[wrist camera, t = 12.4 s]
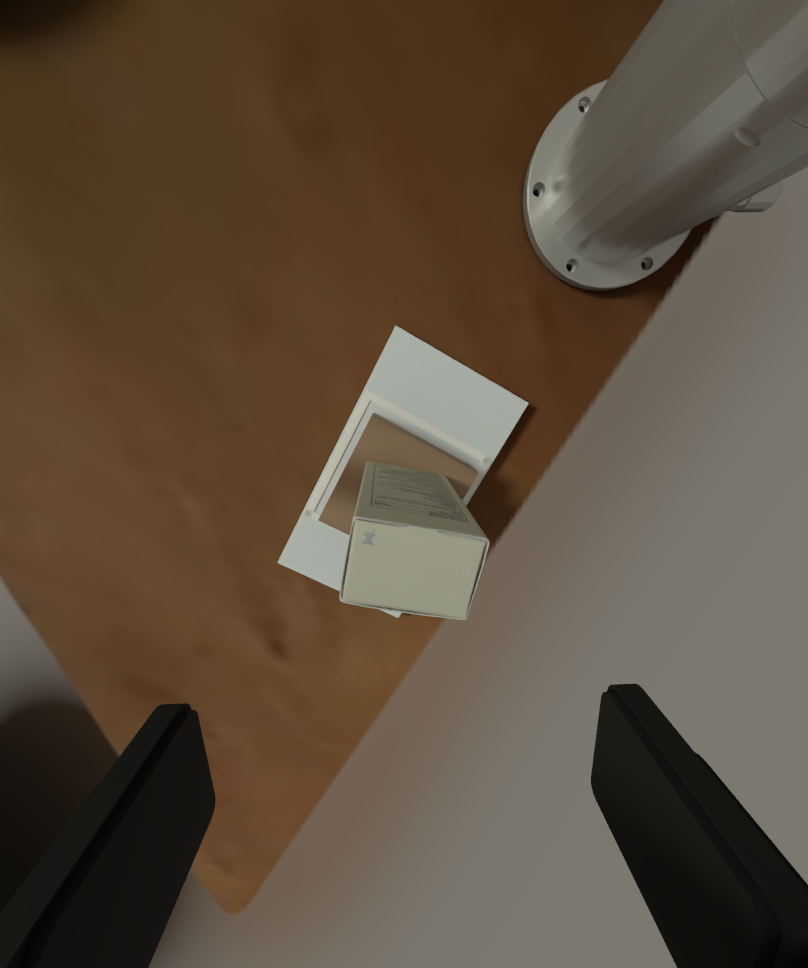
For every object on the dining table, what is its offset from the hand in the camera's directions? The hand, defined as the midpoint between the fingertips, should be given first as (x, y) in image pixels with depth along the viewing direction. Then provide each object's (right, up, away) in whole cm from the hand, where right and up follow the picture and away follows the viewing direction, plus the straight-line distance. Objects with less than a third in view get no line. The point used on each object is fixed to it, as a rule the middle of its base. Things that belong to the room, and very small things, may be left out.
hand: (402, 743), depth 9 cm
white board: (-1, +6, +23) cm, 24 cm away
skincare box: (0, +5, +20) cm, 21 cm away
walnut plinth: (-1, +6, +23) cm, 24 cm away
